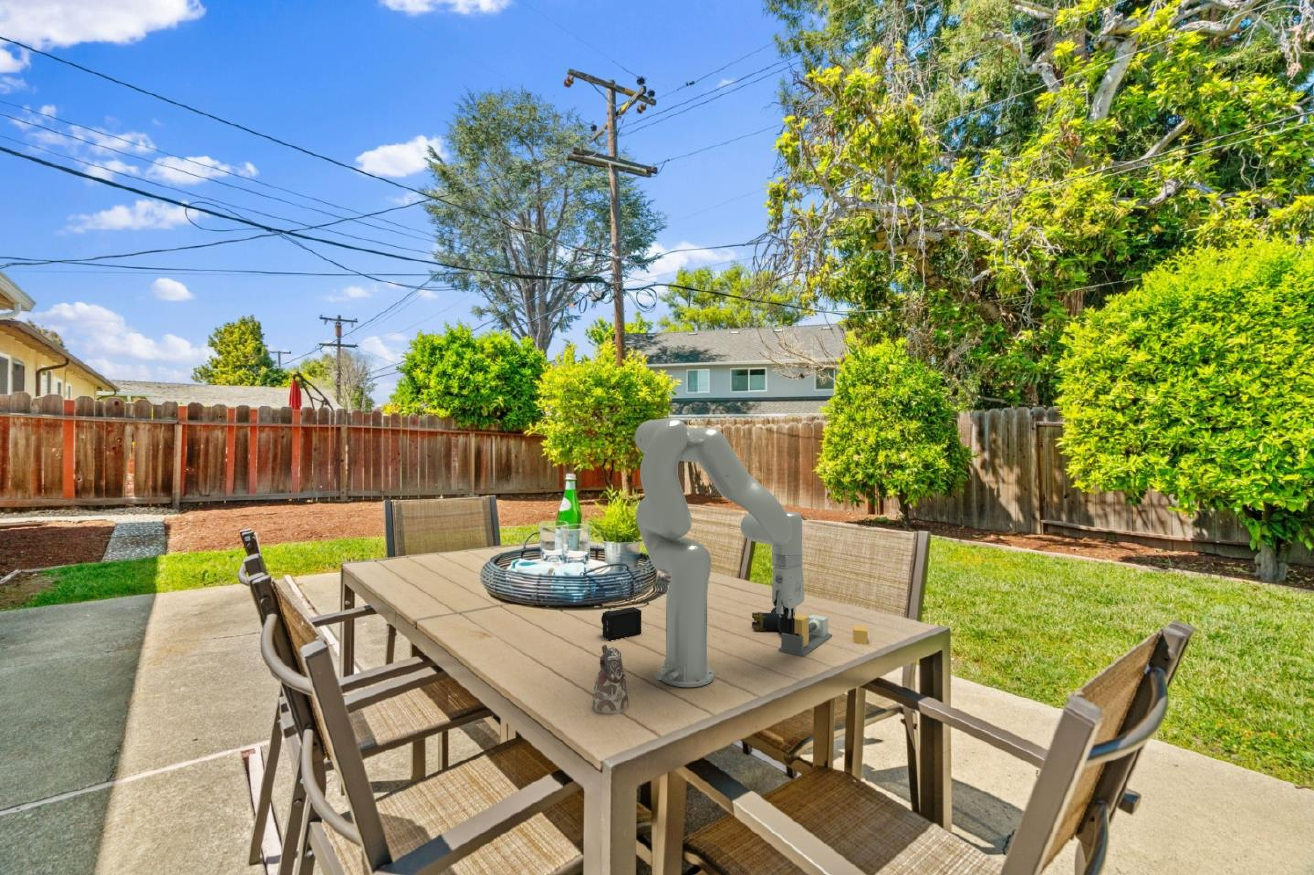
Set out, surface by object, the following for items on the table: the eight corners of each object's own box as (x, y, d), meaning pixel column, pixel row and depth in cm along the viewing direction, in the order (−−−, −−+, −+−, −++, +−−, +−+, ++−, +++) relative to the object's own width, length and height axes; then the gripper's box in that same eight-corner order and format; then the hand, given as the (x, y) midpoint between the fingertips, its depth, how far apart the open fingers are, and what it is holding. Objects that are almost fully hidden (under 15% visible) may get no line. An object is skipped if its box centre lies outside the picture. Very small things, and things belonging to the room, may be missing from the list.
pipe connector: (757, 619, 162) (749, 605, 177) (757, 638, 162) (748, 622, 177) (798, 620, 162) (786, 606, 177) (798, 639, 162) (786, 623, 177)
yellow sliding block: (802, 648, 150) (801, 620, 150) (786, 645, 153) (786, 617, 153) (808, 644, 153) (808, 616, 154) (792, 640, 156) (792, 613, 156)
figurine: (604, 717, 114) (604, 656, 114) (586, 704, 120) (587, 645, 120) (634, 708, 118) (634, 648, 118) (616, 696, 124) (616, 639, 124)
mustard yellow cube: (867, 644, 157) (867, 631, 158) (853, 643, 158) (853, 630, 159) (866, 639, 162) (866, 626, 162) (852, 638, 163) (852, 625, 163)
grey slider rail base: (804, 656, 148) (804, 636, 148) (778, 650, 152) (778, 630, 152) (832, 636, 164) (832, 617, 164) (808, 631, 168) (808, 613, 168)
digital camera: (631, 629, 170) (631, 605, 170) (641, 634, 165) (641, 609, 165) (600, 636, 164) (600, 611, 164) (610, 641, 159) (610, 615, 159)
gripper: (788, 567, 140) (788, 643, 140) (812, 557, 152) (812, 628, 152) (760, 563, 144) (760, 637, 144) (785, 554, 156) (786, 623, 156)
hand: (787, 632), depth 148 cm, fingers closed
